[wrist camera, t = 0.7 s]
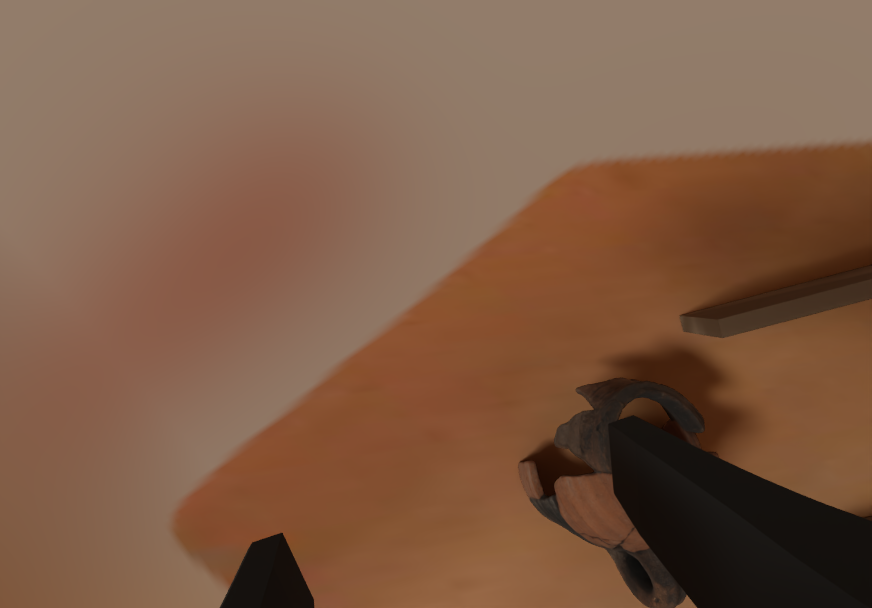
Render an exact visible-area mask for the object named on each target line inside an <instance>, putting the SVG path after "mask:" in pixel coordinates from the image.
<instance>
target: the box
mask: <svg viewBox="0 0 872 608" xmlns="http://www.w3.org/2000/svg"><path fill="white" fill-rule="evenodd" d="M869 299H872V265H869V266H866V267H862V268H858V269H854V270H851V271H847V272H843V273H839V274H835V275H832V276H828V277H824V278H820V279H817V280H813V281H809V282H805V283H801V284H798V285H794V286H790V287H786V288H783V289H779V290H775V291H771V292H767V293H764V294H760V295H756V296H752V297H749V298H745V299H741V300H737V301H733V302H730V303H726V304H722V305H718V306H715V307H711V308H707V309H703V310H700V311H696V312H692V313H688V314H684V315H681V316H680V319H681V323H682V327H683V331H684V332H689V333H695V334H701V335H707V336H713V337H719V338H725V337H728V336H732V335H736V334H740V333H744V332H747V331H751V330H755V329H759V328H763V327H766V326H770V325H774V324H778V323H781V322H785V321H789V320H793V319H797V318H800V317H804V316H808V315H812V314H816V313H819V312H823V311H827V310H831V309H834V308H838V307H842V306H846V305H850V304H853V303H857V302H861V301H865V300H869ZM865 519H867V520H870V521H872V516H870V517H866V518H865Z"/></svg>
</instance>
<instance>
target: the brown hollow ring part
mask: <svg viewBox="0 0 872 608" xmlns="http://www.w3.org/2000/svg"><path fill="white" fill-rule="evenodd" d="M576 392H577V393H578V394H581V395H582V396H583V397H585V398H586V400H587V401H588V402H589V403H590V405H591V406H592V407H593V408H594V410H590V411H582V412H581V413H578V414H576V415H575V416H574V417H572V418H571V419H570V421H569V422H567V423H564V424H562V425H560V426H559V427H558V429H557V432H556V435H555V438H554V444H555V446H556V447H558V448H564V449H569V450H570V451H571V452H572V453H573V454H574V455H576V456H577V457H579V458H580V459H582V460H583V461H584V462H585V463H587V465H588V466H590V467H591V468H592V469H593V470H594V472H593V473H590V474H584V475H577V476H570V475H563V476H560V478H559V479H557V480H556V482H555V484H554V488H555V492H556V495H555V494H554V495H552V496H550V497H549V496H547V495H545V493H544V491H543V488H542V485H541V482H540V479H539V475H538V471H537V466H536V463H535V462H534V461H525V462H519V465H518V468H519V475H520V478H521V482H522V485H523V487H524V489H525V491H526V493H527V495H528V497H529V498H530V501H531V502H532V504H533V505H534V506H535V507H536V509H537V510H538V511H539V512H540V513H541V514H542V515H544V516H545V517H547V518H548V519H549V520H551V521H553V522H555V523H557V524H559V525H560V526H562V527H564V528H566V529H567V530H569V531H570V532H571V533H573V534H575V535H577V536H578V537H580V538H581V539H583V540H585V541H587V542H589V543H591V544H593V545H596V546H599V547H602V548H605V549H606V550H607V551H608V553H609V554H610V555H611V557H612V558H613V560H614V561H615V564H616V566H617V569H618V570H619V572H620V574H621V576H622V578H623V579H624V581H625V583H626V584H627V586H628V587H629V589H630V590H631V592H632V593H633V594H634V595H635V597H636V598H637V599H638V600H639V601H640V602H641V603H643V604H644V605H645V606H647V607H649V608H675V607H676V606H677V605H679V604H681V603H682V602H683V601H684V599H685V597H686V593H685V592H684V590H683V589H682V588H681V587H680V585H679V584H678V583H677V582H676V580H675V579H674V578H673V577H672V575H671V574H670V573H669V572H668V570H667V569H666V568H665V567H664V565H663V564H662V563H661V561H660V560H659V559H658V558H657V556H656V555H655V554H654V553H653V551H652V550H651V549H650V548H649V546H648V545H647V544H646V542H645V541H644V540H643V538H642V537H641V536H640V534H639V533H638V531H637V530H636V528H635V527H634V525H633V524H632V522H631V520H630V519H629V517H628V516H627V514H626V512H625V511H624V509H623V508H622V506H621V504H620V503H619V501H618V499H617V498H616V496H615V494H614V491H613V479H612V467H611V455H610V443H609V431H608V424H609V423H612V422H615V421H618V419H619V416H620V414H621V412H622V409H623V408H624V407H625V406H626V405H627V404H628V403H629V402H631V401H632V400H633V399H635V398H641V397H643V398H649V399H651V400H654V401H656V402H658V403H660V404H661V405H662V407H663V408H664V410H665V411H666V413H667V415H668V416H669V418H670V420H669V421H668V422H667V423H666V424H665V425H664V426H663V428H662V430H664V431H666V432H668V433H670V434H672V435H674V436H676V437H678V438H679V439H681V440H683V441H685V442H687V443H689V444H691V445H693V446H695V447H697V448H699V449H701V446H700V443H699V440H698V438H697V436H696V434H695V433H702V432H704V430H705V426H704V419H703V417H702V415H701V414H700V413H699V412H698V410H697V409H696V408H695V407H694V406H693V404H691V403H690V402H689V401H688V400H687V399H686V398H685V397H684V396H683V395H681V394H680V393H678V392H677V391H675V390H674V389H672V388H670V387H667V386H665V385H662V384H659V385H658V384H657V383H655V382H650V381H642V382H641V381H637V380H633V379H631V380H628V379H625V378H615V379H611V380H607V381H604V382H600V383H595V384H588V385H584V386H581V387H578V388H576ZM701 450H702V449H701ZM708 453H710V454H712V455H714V456H716V457H718V458H719V456H718V454H717V453H716V452H708Z"/></svg>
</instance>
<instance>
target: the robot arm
mask: <svg viewBox="0 0 872 608" xmlns="http://www.w3.org/2000/svg"><path fill="white" fill-rule="evenodd" d="M608 431H609V443H610V455H611V467H612V479H613V491H614V494H615V496H616V498H617V499H618V501H619V503H620V504H621V506H622V508H623V509H624V511H625V512H626V514H627V516H628V517H629V519H630V520H631V522H632V524H633V525H634V527H635V528H636V530H637V531H638V533H639V534H640V536H641V537H642V538H643V540H644V541H645V542H646V544H647V545H648V546H649V548H650V549H651V550H652V551H653V553H654V554H655V555H656V556H657V558H658V559H659V560H660V561H661V563H662V564H663V565H664V567H665V568H666V569H667V570H668V572H669V573H670V574H671V575H672V577H673V578H674V579H675V580H676V582H677V583H678V584H679V585H680V587H681V588H682V589H683V590H684V592H685V593H686V594H687V595H688V597H689V598H690V599H691V600H692V602H693V603H694V604H695V605H696V607H697V608H872V521H870V520H867V519H865V518H862V517H859V516H856V515H854V514H851V513H848V512H845V511H843V510H840V509H837V508H834V507H832V506H829V505H826V504H824V503H821V502H818V501H816V500H813V499H811V498H808V497H806V496H803V495H801V494H798V493H796V492H794V491H791V490H789V489H787V488H784V487H782V486H780V485H777V484H775V483H773V482H770V481H768V480H766V479H763V478H761V477H759V476H757V475H754V474H752V473H750V472H748V471H745V470H743V469H741V468H739V467H737V466H735V465H733V464H730V463H728V462H726V461H724V460H722V459H720V458H718V457H716V456H714V455H712V454H710V453H708V452H706V451H703V450H701V449H699V448H697V447H695V446H693V445H691V444H689V443H687V442H685V441H683V440H681V439H679V438H678V437H676V436H674V435H672V434H670V433H668V432H666V431H664V430H662V429H660V428H658V427H656V426H654V425H652V424H650V423H648V422H646V421H644V420H642V419H640V418H638V417H636V416H633V415H632V416H630V417H627V418H624V419H621V420H618V421H615V422H612V423H609V424H608ZM220 608H314V599H313V597H312V595H311V593H310V590H309V588H308V586H307V584H306V582H305V580H304V578H303V576H302V573H301V571H300V569H299V567H298V565H297V563H296V561H295V558H294V556H293V554H292V552H291V550H290V548H289V546H288V544H287V541H286V539H285V537H284V535H283V533H280V534H277V535H274V536H271V537H268V538H265V539H262V540H259V541H256V542H253V543H252V544H251V545H250V547H249V549H248V551H247V553H246V555H245V557H244V559H243V561H242V563H241V565H240V567H239V569H238V571H237V573H236V576H235V578H234V580H233V582H232V584H231V586H230V588H229V590H228V592H227V594H226V596H225V598H224V600H223V603H222V604H221V606H220Z"/></svg>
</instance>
